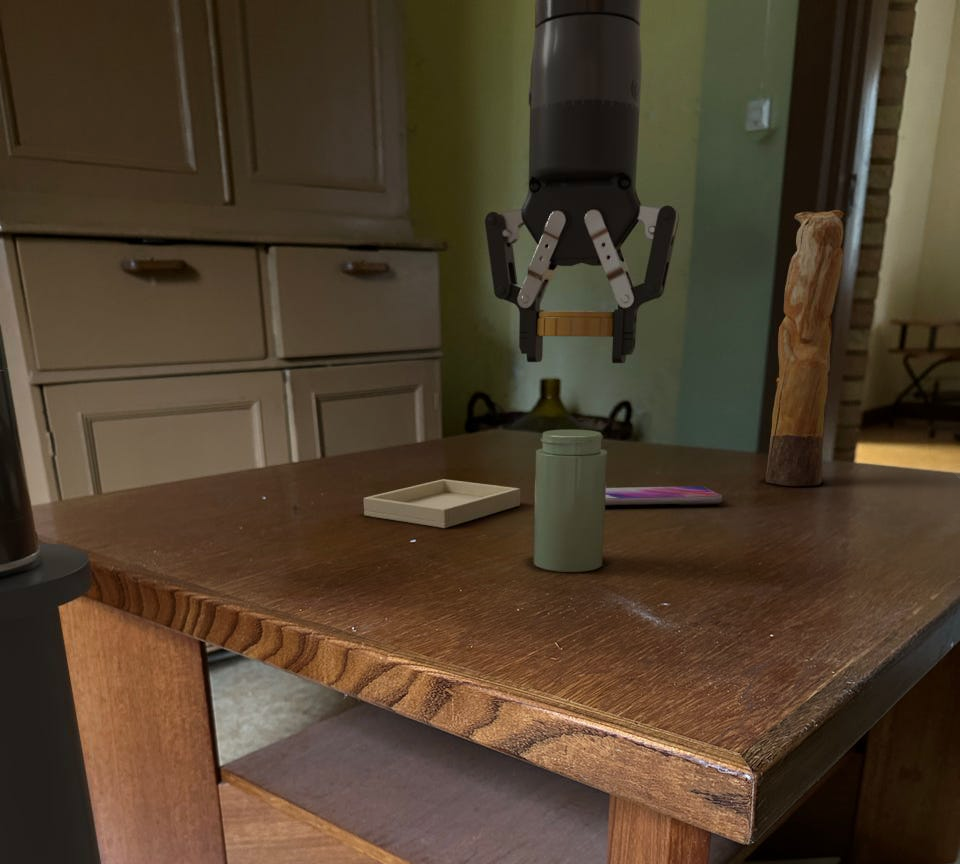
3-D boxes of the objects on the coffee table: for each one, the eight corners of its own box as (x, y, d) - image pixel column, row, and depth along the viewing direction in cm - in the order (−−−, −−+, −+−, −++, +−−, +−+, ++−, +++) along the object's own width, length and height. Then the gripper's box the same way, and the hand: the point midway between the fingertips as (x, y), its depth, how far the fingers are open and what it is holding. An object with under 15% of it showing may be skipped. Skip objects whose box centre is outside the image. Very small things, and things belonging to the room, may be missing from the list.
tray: (444, 528, 86) (444, 509, 85) (364, 515, 92) (363, 497, 91) (520, 505, 96) (520, 488, 96) (443, 495, 102) (443, 479, 101)
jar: (581, 576, 70) (586, 439, 67) (520, 565, 73) (522, 434, 70) (614, 560, 75) (621, 431, 71) (555, 551, 78) (559, 427, 74)
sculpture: (813, 474, 114) (845, 211, 104) (828, 488, 105) (864, 201, 95) (759, 473, 115) (785, 212, 105) (768, 486, 106) (798, 203, 96)
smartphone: (570, 488, 101) (702, 485, 102) (570, 496, 101) (702, 493, 102) (582, 499, 94) (724, 496, 95) (582, 507, 94) (724, 504, 95)
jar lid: (536, 336, 65) (536, 310, 65) (538, 335, 71) (539, 312, 70) (619, 336, 65) (620, 311, 64) (615, 336, 70) (616, 313, 70)
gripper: (696, 111, 64) (678, 361, 70) (499, 123, 68) (497, 358, 74) (685, 87, 57) (667, 366, 63) (468, 101, 61) (469, 363, 67)
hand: (575, 361), depth 68 cm, fingers closed on jar lid, 6 cm apart
